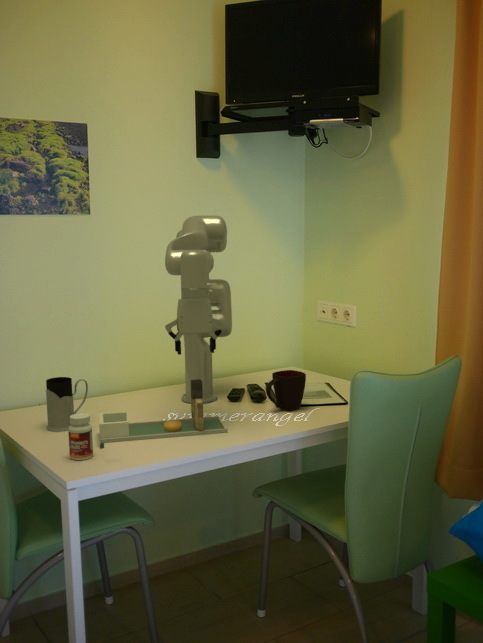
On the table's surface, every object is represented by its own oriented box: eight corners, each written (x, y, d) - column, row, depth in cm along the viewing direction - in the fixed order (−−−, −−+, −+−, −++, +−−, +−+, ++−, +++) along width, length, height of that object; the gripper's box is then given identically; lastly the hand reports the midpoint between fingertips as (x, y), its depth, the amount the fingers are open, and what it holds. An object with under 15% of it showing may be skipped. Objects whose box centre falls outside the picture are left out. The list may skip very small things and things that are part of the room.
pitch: (99, 433, 196) (98, 412, 196) (218, 423, 204) (218, 403, 203) (100, 448, 183) (99, 425, 182) (227, 437, 191) (227, 415, 190)
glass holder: (41, 427, 203) (38, 380, 200) (81, 417, 213) (79, 372, 211) (56, 433, 197) (53, 384, 194) (96, 423, 207) (94, 376, 205)
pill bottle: (69, 461, 173) (66, 419, 171) (70, 453, 179) (68, 413, 177) (93, 459, 174) (91, 418, 173) (93, 452, 180) (91, 411, 179)
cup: (310, 409, 219) (310, 374, 217) (277, 416, 211) (276, 380, 209) (291, 403, 227) (291, 369, 225) (258, 410, 219) (258, 374, 217)
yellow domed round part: (163, 427, 196) (163, 421, 196) (180, 426, 197) (179, 419, 197) (165, 433, 191) (165, 426, 191) (182, 431, 192) (182, 424, 192)
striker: (188, 419, 202) (187, 375, 200) (198, 419, 203) (197, 375, 201) (196, 433, 189) (195, 386, 187) (206, 432, 189) (205, 385, 187)
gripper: (221, 292, 195) (222, 349, 198) (162, 294, 192) (164, 352, 194) (226, 294, 188) (227, 353, 190) (165, 296, 184) (167, 357, 187)
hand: (195, 353), depth 192 cm, fingers open, 9 cm apart
